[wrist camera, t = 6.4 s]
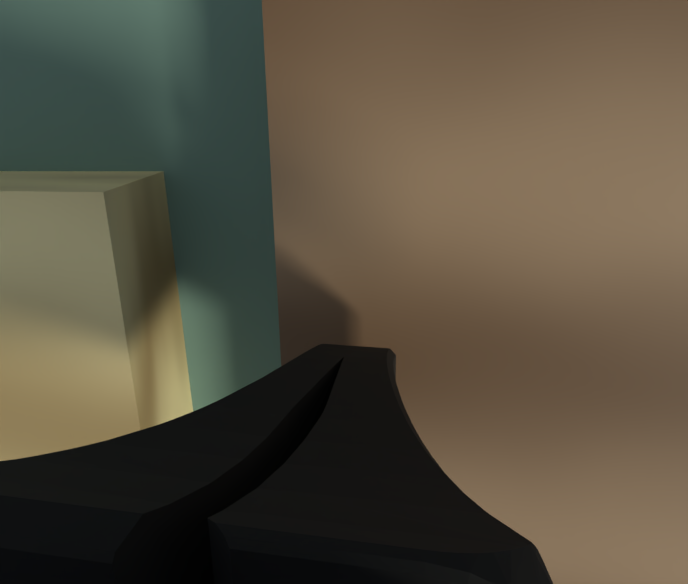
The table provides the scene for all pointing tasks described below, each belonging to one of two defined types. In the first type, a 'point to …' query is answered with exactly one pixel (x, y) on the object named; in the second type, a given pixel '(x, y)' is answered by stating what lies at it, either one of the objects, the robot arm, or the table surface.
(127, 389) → the ochre tile
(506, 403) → the walnut deck
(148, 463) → the robot arm
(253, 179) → the green mat
